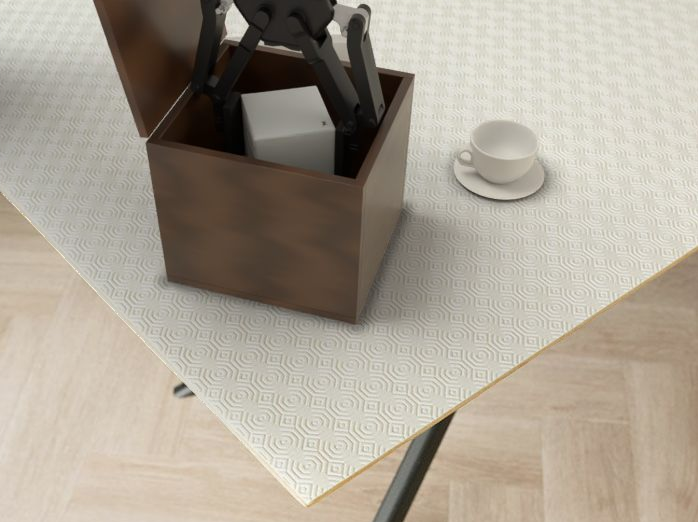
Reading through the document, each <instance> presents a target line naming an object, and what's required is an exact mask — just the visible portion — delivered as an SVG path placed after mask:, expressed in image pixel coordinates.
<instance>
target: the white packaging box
mask: <svg viewBox="0 0 698 522" xmlns="http://www.w3.org/2000/svg"><path fill="white" fill-rule="evenodd" d="M241 108H242V122H243V135H244V148H245V157H249V158H254V159H259V160H264V161H269V162H274V163H279V164H284V165H288V166H293V167H298V168H303V169H308V170H313V171H318V172H322V173H327V174H332V175H334V162H335V127H334V125H333V122H332V120H331V118H330V116H329V114H328V112H327V109H326V107H325V105H324V102H323V100H322V98H321V95H320V93H319V91H318V88H317V87H316V86H310V87H302V88H294V89H286V90H277V91H268V92H260V93H251V94H242V95H241Z"/></svg>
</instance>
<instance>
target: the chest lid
mask: <svg viewBox="0 0 698 522" xmlns="http://www.w3.org/2000/svg"><path fill="white" fill-rule="evenodd" d="M92 2H93V4H94V5H93V6H94V8H95V11H96V14H97V16H98V19H99V23H100V25H101V28H102V31H103V34H104V37H105V39H106V42H107V46H108V49H109V51H110V54H111V57H112V60H113V63H114V66H115V69H116V71H117V75H118V77H119V80H120V83H121V86H122V90H123V92H124V95H125V98H126V101H127V103H128V106H129V107H128V108H129V109H130V113H131V115H132V118H133V121H134V124H135V127H136V130H137V133H138V135H139V138H140V139H141V138H142V139H149V137H150V136H151V135H152V134H153V132H154V131H155V130H156V128H157V127H158V126H159V124H160V123H161V122H162V120H163V119H164V118H165V116H166V115H167V114H168V113H169V111H170V110H171V109H172V107H173V106H174V105H175V103H176V102H177V101H178V99H179V98H180V97H181V95H182V94H183V93H184V92H185V90H186V89H187V88H188V86H189V85H190V84H191V79H192V74H193V69H194V63H195V58H196V53H197V47H198V42H199V37H200V31H201V26H202V21H203V15H202V9H201V3H200V0H92ZM227 36H228V29H227V27H226V23H225V24H224V29H223V34H222V38H221V42H222V41H223V39H224V38H225V37H227Z"/></svg>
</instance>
